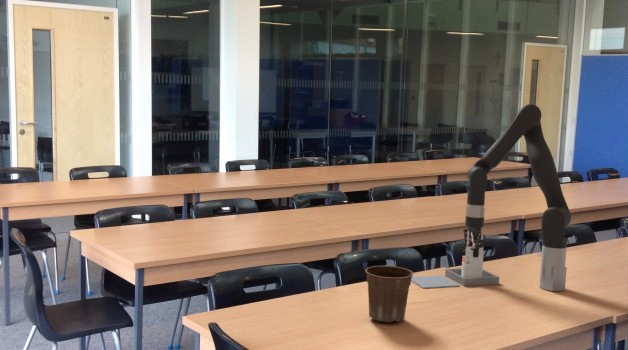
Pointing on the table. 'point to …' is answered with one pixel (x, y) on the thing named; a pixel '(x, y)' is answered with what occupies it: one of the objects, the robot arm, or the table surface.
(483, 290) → the table surface
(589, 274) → the table surface
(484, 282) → the desk holder
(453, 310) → the table surface
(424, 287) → the slate mat
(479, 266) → the ink box
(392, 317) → the plant pot
